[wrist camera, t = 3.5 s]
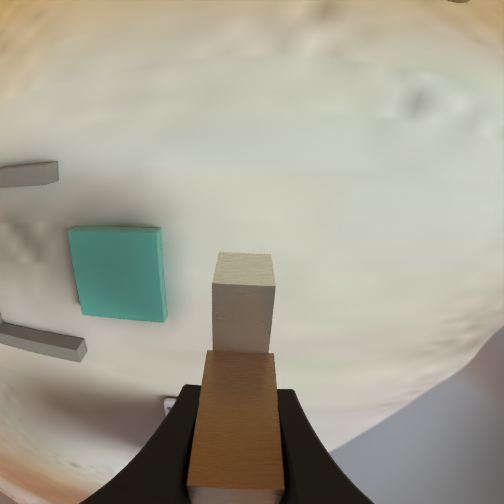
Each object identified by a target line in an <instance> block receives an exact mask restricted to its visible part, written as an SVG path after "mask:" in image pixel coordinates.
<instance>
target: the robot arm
mask: <svg viewBox="0 0 504 504" xmlns="http://www.w3.org/2000/svg"><path fill="white" fill-rule="evenodd" d="M200 392H201V386H200V385H189V384H186V385H184V386H183V388H182V390H181V392H180V394H179V396H178V398H177V399H173V398H166V399H165V400H164V409H165V414H166V417H165V419H164V420H163V422H162V423H161V425H160V426H159V428H158V429H157V430H156V432H155V433H154V434H153V436H152V437H151V438H150V439H149V441H148V442H147V443H146V445H145V446H144V447H143V448H142V449H141V451H140V452H139V453H138V454H137V455H136V456H135V457H134V458H133V459H132V460H131V461H130V462H129V464H128V465H127V466H126V467H125V468H124V469H122V470H121V471H120V472H119V473H118V474H117V475H116V476H115V477H114V478H113V479H112V480H110V481H109V482H108V483H107V484H106V485H104V486H103V487H102V488H100V489H99V490H98V491H96V492H95V493H94V494H92V495H91V496H89V497H88V498H87V499H85V500H84V501H82V502H81V503H79V504H192V503H191V500H190V496H189V492H188V489H187V479H188V472H189V465H190V458H191V451H192V444H193V437H194V430H195V424H196V417H197V411H198V407H199V403H200V402H199V398H200ZM277 398H278V406H277V407H278V412H279V423H280V436H281V449H282V462H283V476H284V492H283V495H282V498H281V500H280V503H279V504H374V503H373V502H372V501H371V500H370V499H369V498H368V497H367V496H365V495H364V494H363V493H362V492H361V491H360V490H359V489H358V488H357V487H356V486H355V485H354V484H353V483H352V482H351V481H350V479H349V478H348V477H347V476H346V475H345V474H344V473H343V472H342V470H341V469H340V468H339V467H338V465H337V464H336V463H335V462H334V460H333V459H332V457H331V456H330V455H329V453H328V452H327V450H326V449H325V447H324V446H323V444H322V443H321V441H320V440H319V438H318V436H317V435H316V433H315V431H314V430H313V428H312V426H311V425H310V423H309V421H308V419H307V417H306V415H305V413H304V411H303V409H302V407H301V405H300V403H299V401H298V398H297V396H296V393H295V391H294V390H293V389H277Z"/></svg>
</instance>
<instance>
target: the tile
mask: <svg viewBox="0 0 504 504" xmlns="http://www.w3.org/2000/svg"><path fill="white" fill-rule="evenodd" d="M67 233H68V240H69V246H70V253H71V259H72V265H73V270H74V276H75V281H76V286H77V291H78V296H79V300H80V305H81V309H82V313H83V315H90V316H99V317H108V318H118V319H128V320H139V321H151V322H165V319H166V316H167V306H166V295H165V284H164V271H163V257H162V242H161V228H158V227H103V226H74V227H73V228H71V229H70V230H68V231H67Z"/></svg>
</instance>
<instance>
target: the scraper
mask: <svg viewBox="0 0 504 504" xmlns="http://www.w3.org/2000/svg"><path fill="white" fill-rule="evenodd" d="M274 296H275V279H274V271H273V264H272V257H271V255H270V254H250V253H230V252H219V255H218V259H217V264H216V268H215V273H214V277H213V282H212V331H213V351H210V350H207V355H206V361H205V367H204V373H203V379H202V386H201V392H200V398H199V402H200V403H199V407H198V411H197V417H196V424H195V430H194V437H193V444H192V451H191V458H190V465H189V472H188V479H187V489H188V492H189V496H190V500H191V503H192V504H279V503H280V500H281V498H282V495H283V492H284V476H283V462H282V449H281V436H280V423H279V412H278V407H277V406H278V398H277V386H276V374H275V362H274V353H268V351H269V343H270V334H271V324H272V315H273V306H274Z"/></svg>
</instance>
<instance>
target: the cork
mask: <svg viewBox="0 0 504 504" xmlns="http://www.w3.org/2000/svg"><path fill="white" fill-rule="evenodd" d="M448 1H452V2H456V3H464V2H468V1H469V0H448Z"/></svg>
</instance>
